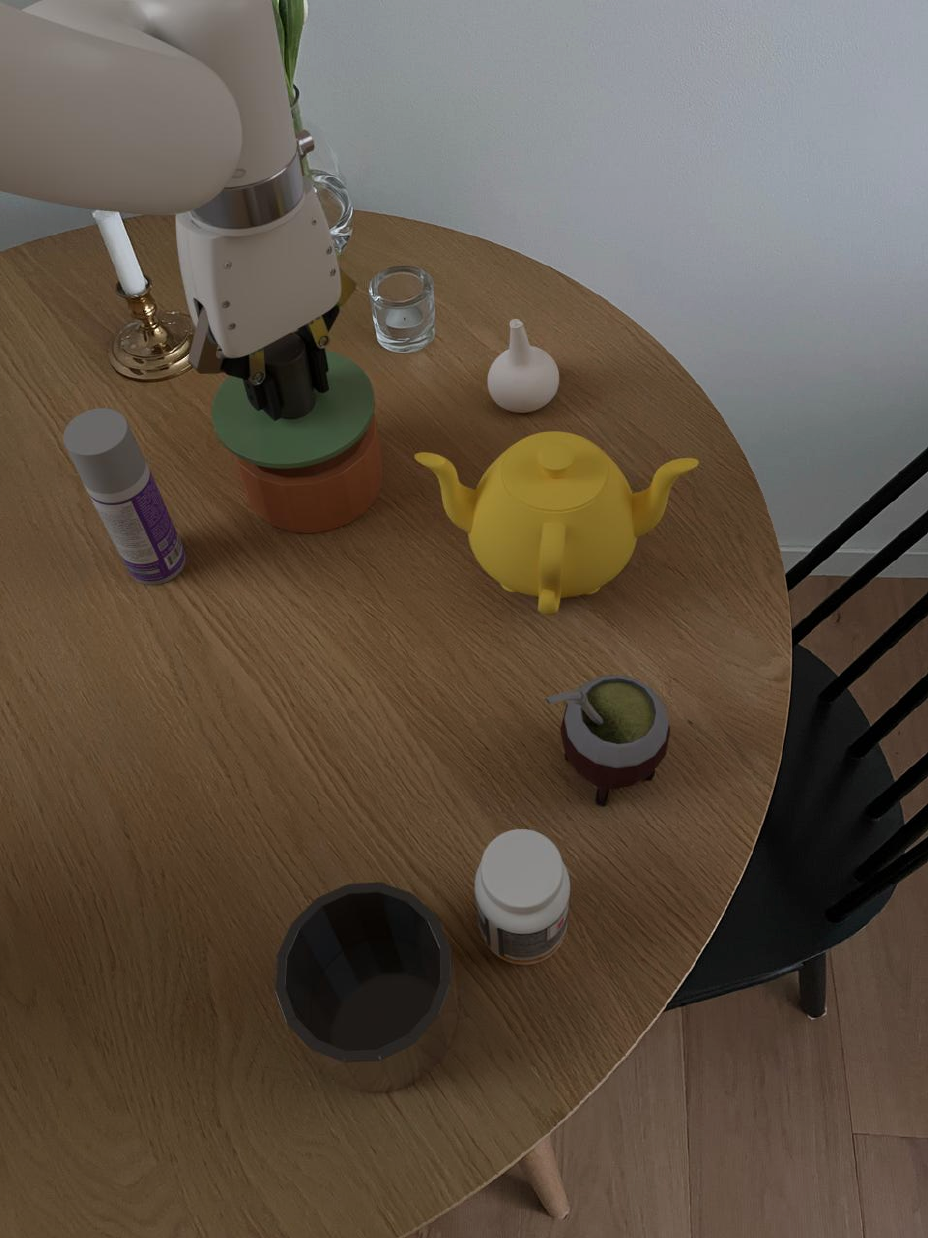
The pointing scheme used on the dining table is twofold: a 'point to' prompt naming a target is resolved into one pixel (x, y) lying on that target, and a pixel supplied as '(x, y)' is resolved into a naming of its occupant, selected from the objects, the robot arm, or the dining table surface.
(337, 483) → the bowl
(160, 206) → the robot arm
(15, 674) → the dining table surface
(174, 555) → the container
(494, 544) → the teapot
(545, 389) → the garlic bulb
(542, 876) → the pill bottle
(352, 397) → the lid
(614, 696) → the mate gourd
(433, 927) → the cup
